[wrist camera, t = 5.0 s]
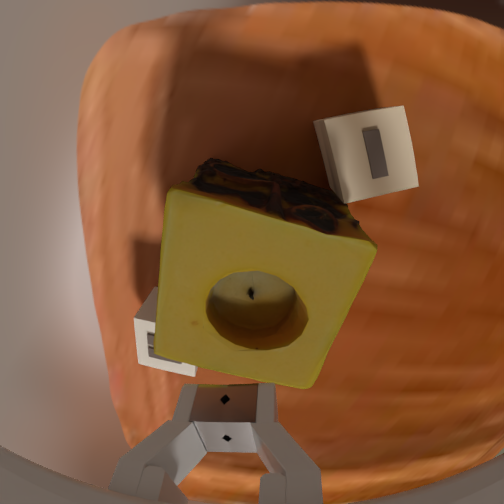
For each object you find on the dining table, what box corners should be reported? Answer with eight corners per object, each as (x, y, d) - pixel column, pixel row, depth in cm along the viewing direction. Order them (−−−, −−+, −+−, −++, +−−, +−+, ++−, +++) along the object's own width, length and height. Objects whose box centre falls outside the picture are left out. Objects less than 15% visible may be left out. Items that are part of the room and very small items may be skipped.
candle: (208, 155, 22) (162, 180, 12) (341, 190, 22) (386, 238, 13) (185, 276, 26) (144, 354, 17) (301, 304, 26) (311, 393, 17)
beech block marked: (376, 108, 19) (404, 105, 15) (390, 172, 21) (420, 187, 16) (312, 121, 20) (324, 120, 15) (329, 186, 22) (345, 204, 17)
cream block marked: (209, 296, 26) (196, 333, 22) (205, 339, 28) (194, 378, 24) (155, 285, 26) (132, 319, 22) (156, 329, 28) (137, 365, 24)
